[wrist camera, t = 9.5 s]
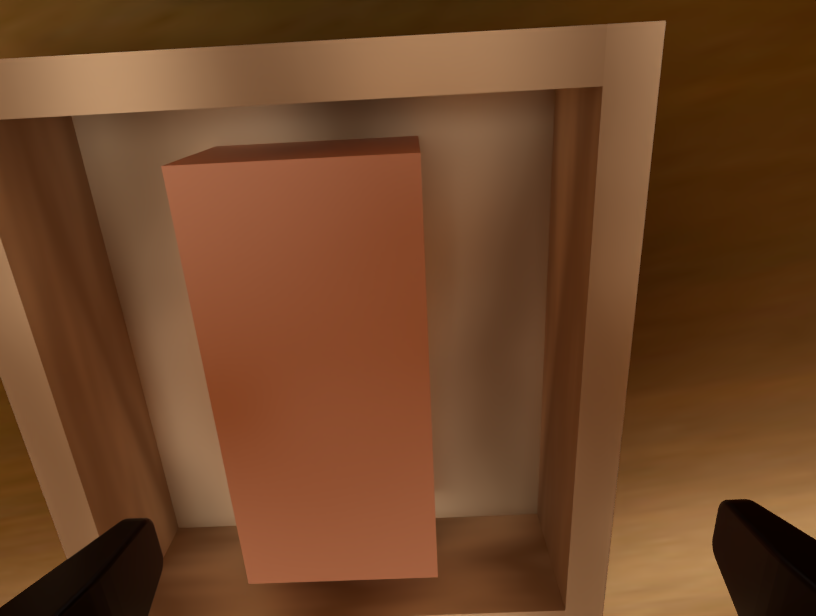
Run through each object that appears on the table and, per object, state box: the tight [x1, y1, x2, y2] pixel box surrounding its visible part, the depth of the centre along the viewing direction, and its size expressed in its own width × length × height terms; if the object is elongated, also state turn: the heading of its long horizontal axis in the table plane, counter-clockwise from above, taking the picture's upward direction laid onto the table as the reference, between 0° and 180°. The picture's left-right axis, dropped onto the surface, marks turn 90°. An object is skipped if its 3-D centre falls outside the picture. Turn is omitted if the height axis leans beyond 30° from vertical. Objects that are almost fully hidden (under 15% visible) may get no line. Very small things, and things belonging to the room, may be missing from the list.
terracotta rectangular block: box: [161, 136, 438, 584], centre depth 17 cm, size 6×13×4 cm, turn 3°
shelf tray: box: [0, 21, 666, 616], centre depth 18 cm, size 16×18×6 cm
